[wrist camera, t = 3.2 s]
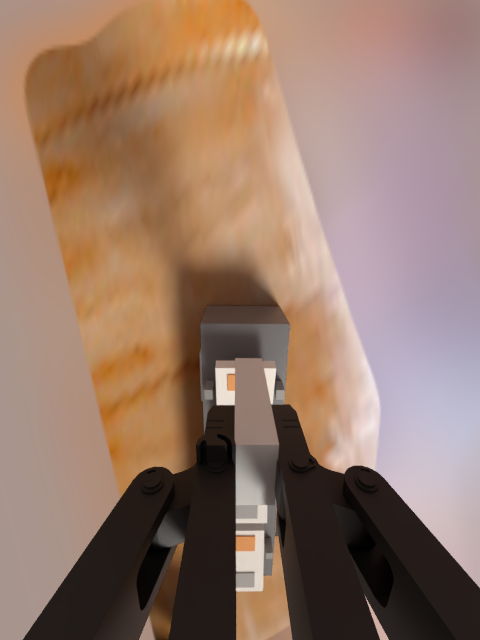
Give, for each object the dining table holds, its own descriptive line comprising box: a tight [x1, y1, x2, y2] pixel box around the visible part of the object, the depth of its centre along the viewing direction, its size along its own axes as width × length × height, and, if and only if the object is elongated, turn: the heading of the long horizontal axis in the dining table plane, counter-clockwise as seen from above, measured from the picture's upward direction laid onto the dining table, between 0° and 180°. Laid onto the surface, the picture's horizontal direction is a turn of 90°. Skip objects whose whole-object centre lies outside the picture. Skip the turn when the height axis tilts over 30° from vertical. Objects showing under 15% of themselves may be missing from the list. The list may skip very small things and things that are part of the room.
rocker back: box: [236, 523, 264, 591], centre depth 25 cm, size 6×4×1 cm, turn 179°
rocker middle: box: [236, 505, 267, 523], centre depth 23 cm, size 6×4×1 cm, turn 179°
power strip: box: [199, 305, 290, 576], centre depth 26 cm, size 27×7×6 cm, turn 179°
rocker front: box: [215, 361, 276, 405], centre depth 20 cm, size 6×4×1 cm, turn 179°
